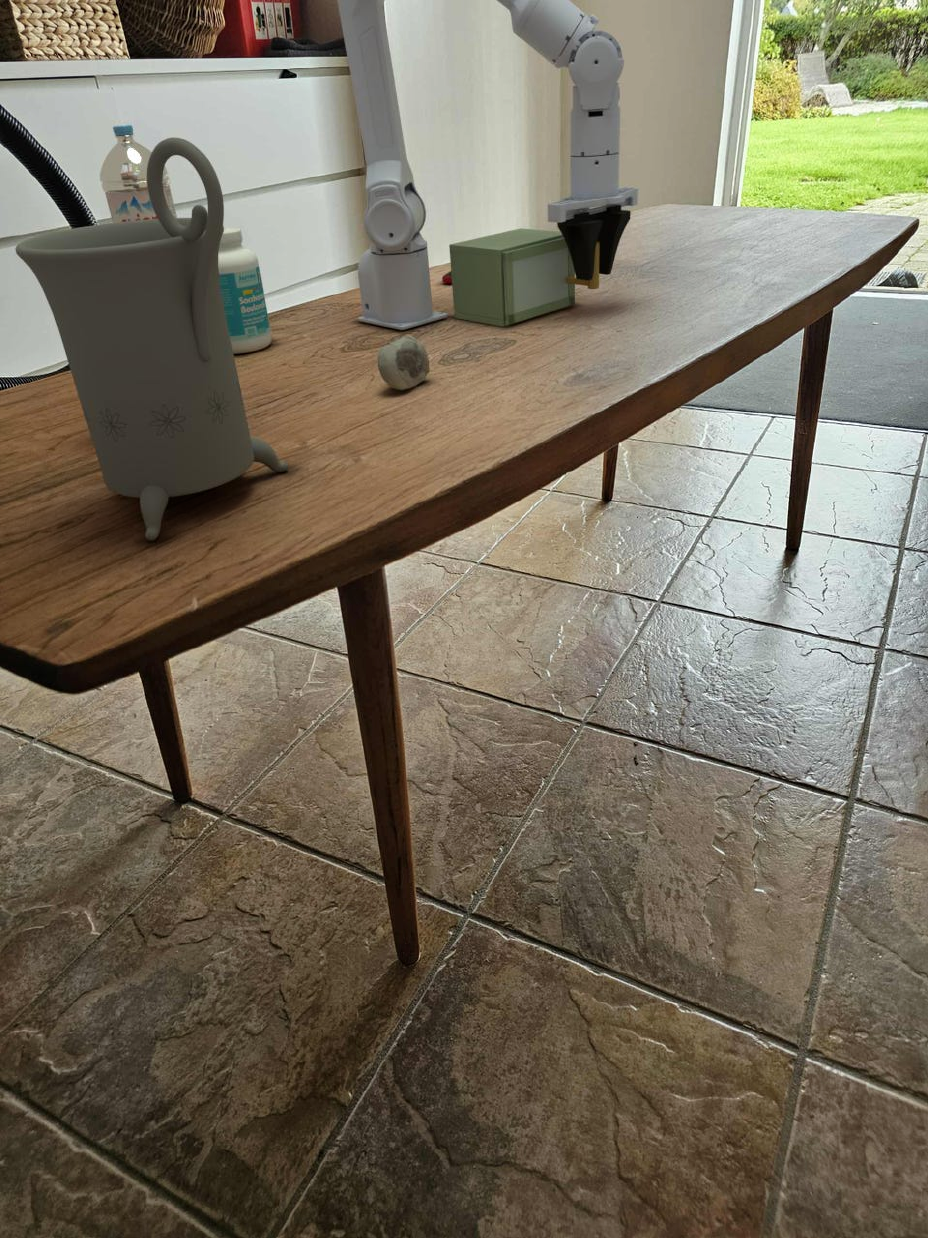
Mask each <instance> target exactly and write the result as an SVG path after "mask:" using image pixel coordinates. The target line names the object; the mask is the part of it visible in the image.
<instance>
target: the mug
mask: <svg viewBox="0 0 928 1238" xmlns="http://www.w3.org/2000/svg"><path fill="white" fill-rule="evenodd" d="M151 152H152V153H151V155H150V158H149V161H148V166H147V187H148V193H149V197H150V201H151V204H152V207H153V209H154V212H155V214H156V216H157V218H158V219H149V220H137V221H126V222H117V223H113V222H110V223H102V224H95V225H89V226H88V225H87V226H82V227H75V228H70V229H64V230H63V229H62V230H59V231H54V232H53V231H52V232H49V233H45V234H41V235H37V236H34V237H31V238H27V239H25V240H23V241H21V242H19V243H18V244H17V245H15V248H14V249H15V253H16V255H17V256H18V257H19V258H20V259H21V260H22V261H23V262H24V264H26V265H27V267H28V268H29V269H30V270H31V272H32V273H33V275H34V276H35V278H36V280H37V281H38V284H39V285H40V287H41V289H42V291H43V293H44V296H45V299H46V301H47V303H48V305H49V308H50V310H51V313H52V315H53V317H54V318H53V319H54V321H55V325H56V328H57V330H58V333H59V337H60V340H61V343H62V347H63V351H64V353H65V357H66V359H67V363H68V366H69V369H70V372H71V376H72V378H73V383H74V386H75V389H76V392H77V396H78V399H79V402H80V406H81V409H82V412H83V415H84V418H85V422H86V426H87V428H88V431H89V435H90V438H91V442H92V445H93V448H94V450H95V454H96V458H97V461H98V464H99V467H100V470H101V471H100V472H101V474H102V477H103V481H104V483H105V486H106V487H107V489H109V490H110V491H111V492H113V493H115V494H117V495H119V496H123V497H127V498H134V499H135V498H136V499H139V504H140V505H139V506H140V511H141V515H142V519H143V522H144V525H145V528H146V531H145V533H144V536H145V538H146V540H147V541H151V542H152V541H155V540H157V538H158V537H159V534H160V532H161V526H162V521H163V516H164V513H165V510H166V507H167V506H168V502H169V498H175V497H181V496H188V495H192V494H196V493H201V492H204V491H207V490H211V489H214V488H217V487H219V486H222V485H224V484H228V483H229V482H231V481H234V480H235V479H237V478H239V477H240V476H242V475H243V474H244V473H246V472H247V471H248V470H249V469H250V468H251V467H252V465H254V463H259V464H262V465H264V466H266V467H267V468H268V469H270V470H271V471H273V472H275V473H284V472H287V471H288V470H289V464H288V463H287V462H286V461H280V459H279V458H278V455H277V453H276V451H275V450H274V449H273V447H272V446H271V445H270V444H269V443H267V442H266V441H264V440H263V439H260V438H257V437H251V434H250V428H249V424H248V419H247V414H246V408H245V403H244V399H243V394H242V389H241V384H240V380H239V373H238V369H237V364H236V361H235V354H233V350H232V345H231V340H230V335H229V330H228V325H227V320H226V315H225V311H224V305H223V300H222V294H221V288H220V278H219V268H218V252H219V245H220V241H221V237H222V235H223V232H224V229H225V226H224V219H225V205H224V203H225V202H224V196H223V190H222V186H221V182H220V180H219V178H218V175H217V172H216V171H215V169H214V167H213V164H212V163H211V162H210V160H209V159H208V157H207V156H206V154H205V153H204V152H203V151H202V150H201V149H199V147H197V146H196V145H195V144H194V143H192V142H190V140H186V139H185V138H182V137H181V138H180V137H167V138H165V139H163V140H161V141H159V142H157V144H156V146H154V148H153V149H152V151H151ZM174 156H178V157H179V156H180V157H182V158H184V159H185V160H187V161H188V162H189V163H190V165H192V166H193V168H194V169H195V170H196V172H197V174H198V176H199V178H200V180H201V182H202V184H203V185H202V186H203V187H204V191H205V195H206V202H207V209H206V207H205V206H203V205H201V204H196V205H195V206H193V208H192V209H191V217H177V218H174V216H173V214H172V213H171V211H170V209H169V207H168V204H167V201H166V199H165V195H164V190H163V170H164V166H165V167H166V163H167V162H168V160H170V158H171V157H174Z"/></svg>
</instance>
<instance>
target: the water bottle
mask: <svg viewBox="0 0 928 1238" xmlns="http://www.w3.org/2000/svg"><path fill="white" fill-rule="evenodd" d="M112 130H113V133H114V138H116V140H117V142H116V144H115V145H114V146H113V147H112V148H111V150H109V152H108V154H107V155H106V157H105V158H104V161H103V163H102V166H101V168H100V172H99V181H100V182H101V188H102V191H103V192H104V195H105V198H106V201H107V206H108V210H109V213H110V216H111V220H112V223H117V222H126V221H137V220H149V219H158V218H157V216H156V214H155V212H154V209H153V207H152V204H151V201H150V197H149V193H148V187H147V166H148V161H149V158H150V155H151V153H152V151H151V150H149V149H148V148H147V147H145V146H144V145H143V144H140V143H139V142H137V141H136V140H135V138H134V136H135V134H134V129H133V125H132V124H125V125H114V126H112ZM170 184H171V179H170V177H169V171H168V169H167V167H166V165H165V166H164V170H163V190H164V195H165V199H166V201H167V204H168V207H169V209H170V211H171V213H172V214H173V216H174V218H178V215H177V211H176V207H175V202H174V199H173V194H172V190H171V185H170Z"/></svg>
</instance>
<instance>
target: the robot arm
mask: <svg viewBox="0 0 928 1238" xmlns="http://www.w3.org/2000/svg"><path fill="white" fill-rule="evenodd" d="M385 1H386V0H337V7H338V11H339V18H340V24H341V28H342V33H343V40H344V45H345V50H346V57H347V62H348V67H349V72H350V78H351V79H350V80H351V85H352V90H353V97H354V101H355V107H356V112H357V118H358V124H359V129H360V136H361V140H362V141H361V142H362V146H363V147H362V148H363V152H364V157H365V158H364V159H365V163H366V177H365V192H366V209H365V212H364V216H363V224H364V230H365V232H366V236H367V238H368V239H369V240H370V241H371V244H370V245H369V248H368V249H367V250H365V251H364V252H363V253H362V255H361V256H360V258H359V261H358V266H357V278H358V286H359V294H360V302H361V309H362V310H361V311H362V316H359V317H357V320H358V322H362V323H366V324H371V325H376V326H380V327H385V328H390V329H394V330H399V331H405V330H409V329H412V328H414V327H419V326H422V325H425V324H428V323H429V324H430V323H433V322H436V321H439V320H442V319H446V318H448V313H447V312H440V311H435V310H433V309H434V307H433V297H432V285H431V274H430V264H429V263H430V261H429V251H428V242H427V240H426V239H424V237H423V236H422V234H421V232H422V230H423V227H424V226H425V223H426V218H427V210H426V209H427V208H426V204H425V202H424V200H423V198H422V197H421V195H420V193H419V192H418V190H417V187H416V186H415V180H414V174H413V172H412V168H411V166H410V163H409V161H408V157H407V150H406V145H405V144H406V143H405V138H404V131H403V124H402V118H401V112H400V106H399V100H398V93H397V87H396V81H395V80H396V79H395V74H394V67H393V62H392V55H391V49H390V48H391V47H390V41H389V36H388V29H387V22H386V16H385V9H384V3H385ZM496 1H497V2H498V3H499V4H501V5H502V6H503V7H505V8H506V9H507V10H508V11H509V12H510V18H511V26H512V27H511V28H512V32H513V34H515V35H516V36H517V37H518V38H520V39H521V40H522V41H524V42H525V43H526V44H527V45H528V46H529V47H531V48H532V49H533V50H534V51H535V52H537V53H538V54H539V55H541V57H543V58H544V59H545V60H547V62H549V63H550V64H551V65H553V66H554V68H556V69H558V70H559V69H560V68H567V69H568V73H569V76H570V79H571V81H572V83H573V84H574V85H573V86H572V108H571V109H570V113H569V137H570V138H569V152H570V153H569V155H570V156H569V173H570V174H569V175H570V177H569V179H570V181H569V182H570V183H569V187H570V188H569V189H570V190H569V191H570V192H569V195H570V196H567V197H565V198H562V199H560V200H557V201H554V202H550V203H548V204H547V222H548V223H556V225H557V228H558V230H559V232H561V233H562V235H563V237H564V239H565V241H566V243H567V246H568V249H569V251H570V255H571V258H572V262H573V266H574V270H575V277H576V279H581V280H592V277H593V272H594V261H595V249H596V243H597V242H599V243H600V250H599V275H606V276H608V275H611V273H612V270H613V267H614V266H613V265H614V262H615V259H616V254H617V251H618V247H619V245H620V240H621V238H622V236H623V233H624V231H625V229H626V227H627V225H628V224H629V222H630V220H631V215H632V214H631V213H632V212H631V210H628V209H627V210H626V209H622V208H625V207H628V206H629V207H634V206H638V200H639V188H638V187H621V188H619V186H620V185H619V184H620V148H621V147H620V144H621V139H620V138H621V106H620V105H619V101H620V98H621V89H620V86H619V85H620V84H619V82H618V81H619V79H620V78H621V76H622V73H623V70H624V65H625V60H624V58H623V51H622V49H621V46H620V43H619V42H618V41H617V39H616V38H615V37H614V36H613V35H612V34H610V33H609V32H607V31H605V30H603V29H602V30H601V29H595V28H596V26H597V25H598V23H599V21H600V19H599V17H597V16H596V15H595V14H593V13H592V14H591V15H590V16H589V15H587V14H586V13H585V12H584V11H582V10H581V9H580V8H579V7H578V6H577V5H575V4H574V3H573V2H572V1H570V0H496Z"/></svg>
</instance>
